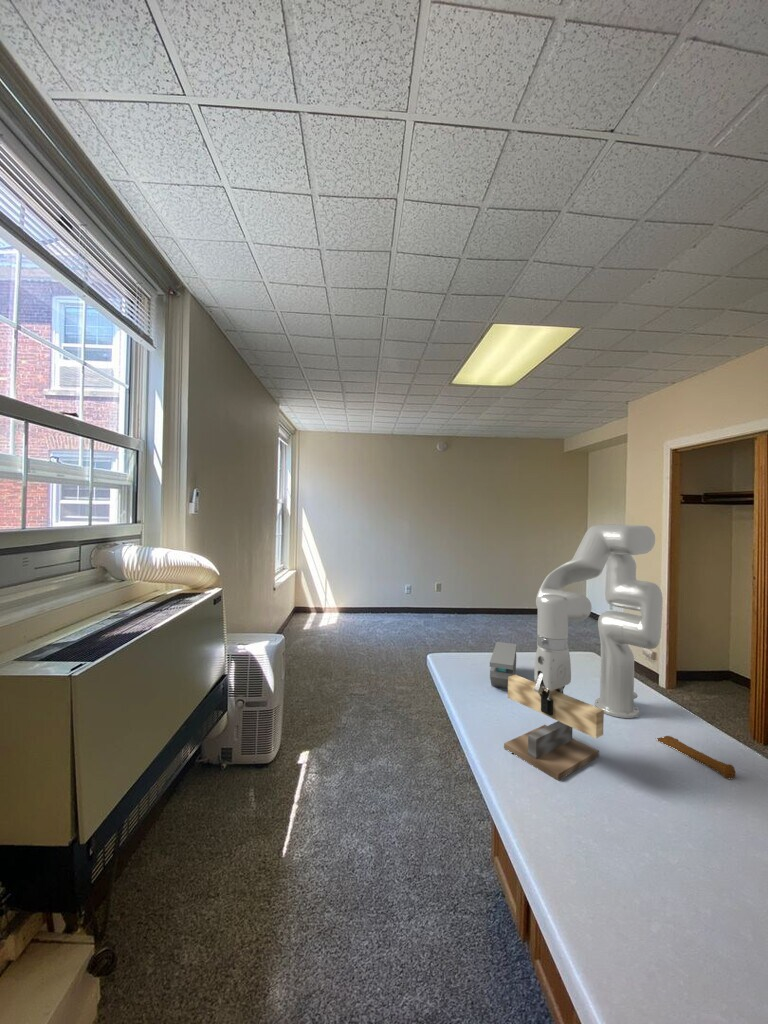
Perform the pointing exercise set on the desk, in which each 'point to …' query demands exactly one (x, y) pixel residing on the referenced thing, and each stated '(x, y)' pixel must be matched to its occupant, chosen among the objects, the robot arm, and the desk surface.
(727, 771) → the primitive tool
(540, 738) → the stand
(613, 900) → the desk surface
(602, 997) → the desk surface
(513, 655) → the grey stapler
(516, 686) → the oak batten
